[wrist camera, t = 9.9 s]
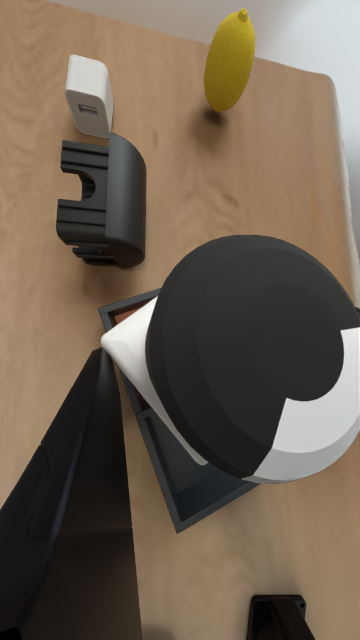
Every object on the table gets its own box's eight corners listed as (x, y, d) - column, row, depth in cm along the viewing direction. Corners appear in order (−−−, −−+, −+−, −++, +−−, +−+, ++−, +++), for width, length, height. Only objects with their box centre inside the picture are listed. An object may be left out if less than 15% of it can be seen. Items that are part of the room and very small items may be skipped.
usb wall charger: (78, 132, 22) (62, 87, 18) (83, 85, 22) (69, 32, 19) (111, 139, 22) (103, 97, 18) (116, 93, 23) (108, 43, 19)
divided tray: (259, 450, 21) (279, 472, 18) (172, 499, 19) (177, 534, 16) (196, 283, 22) (204, 274, 19) (106, 313, 20) (97, 308, 17)
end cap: (146, 271, 21) (143, 241, 15) (84, 268, 20) (50, 234, 14) (147, 196, 22) (145, 136, 16) (88, 189, 21) (59, 121, 15)
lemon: (210, 87, 26) (235, -23, 18) (240, 112, 26) (278, 14, 18) (190, 110, 25) (208, 4, 17) (221, 135, 25) (253, 43, 17)
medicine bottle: (116, 348, 14) (16, 303, 3) (181, 298, 16) (281, 156, 5) (172, 417, 14) (327, 692, 2) (230, 357, 16) (453, 356, 5)
